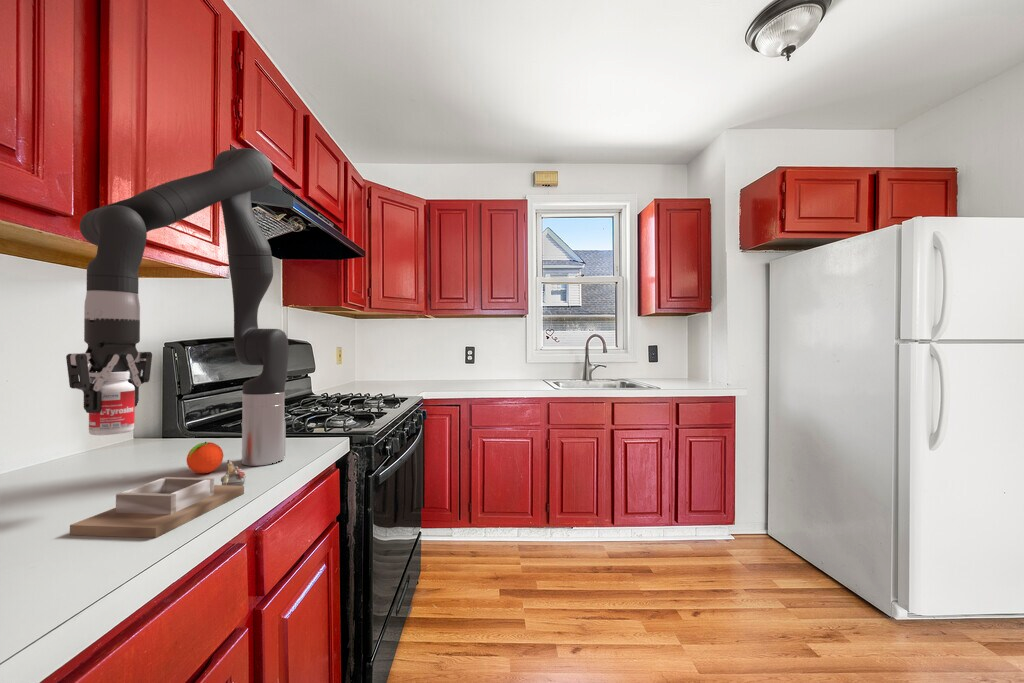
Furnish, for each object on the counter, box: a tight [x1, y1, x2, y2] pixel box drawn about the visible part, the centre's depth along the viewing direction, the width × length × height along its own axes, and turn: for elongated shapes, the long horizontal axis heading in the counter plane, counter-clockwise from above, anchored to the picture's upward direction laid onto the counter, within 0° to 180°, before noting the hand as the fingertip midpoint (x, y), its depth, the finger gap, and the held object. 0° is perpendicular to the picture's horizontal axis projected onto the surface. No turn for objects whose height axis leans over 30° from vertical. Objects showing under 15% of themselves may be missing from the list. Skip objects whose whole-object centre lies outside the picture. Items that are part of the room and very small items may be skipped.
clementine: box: [186, 441, 224, 475], centre depth 100 cm, size 8×7×7 cm
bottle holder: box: [69, 476, 245, 539], centre depth 77 cm, size 20×14×4 cm
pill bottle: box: [88, 371, 136, 436], centre depth 80 cm, size 6×6×11 cm
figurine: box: [220, 459, 247, 486], centre depth 91 cm, size 5×4×6 cm
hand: (112, 409), depth 80 cm, fingers closed on pill bottle, 6 cm apart
